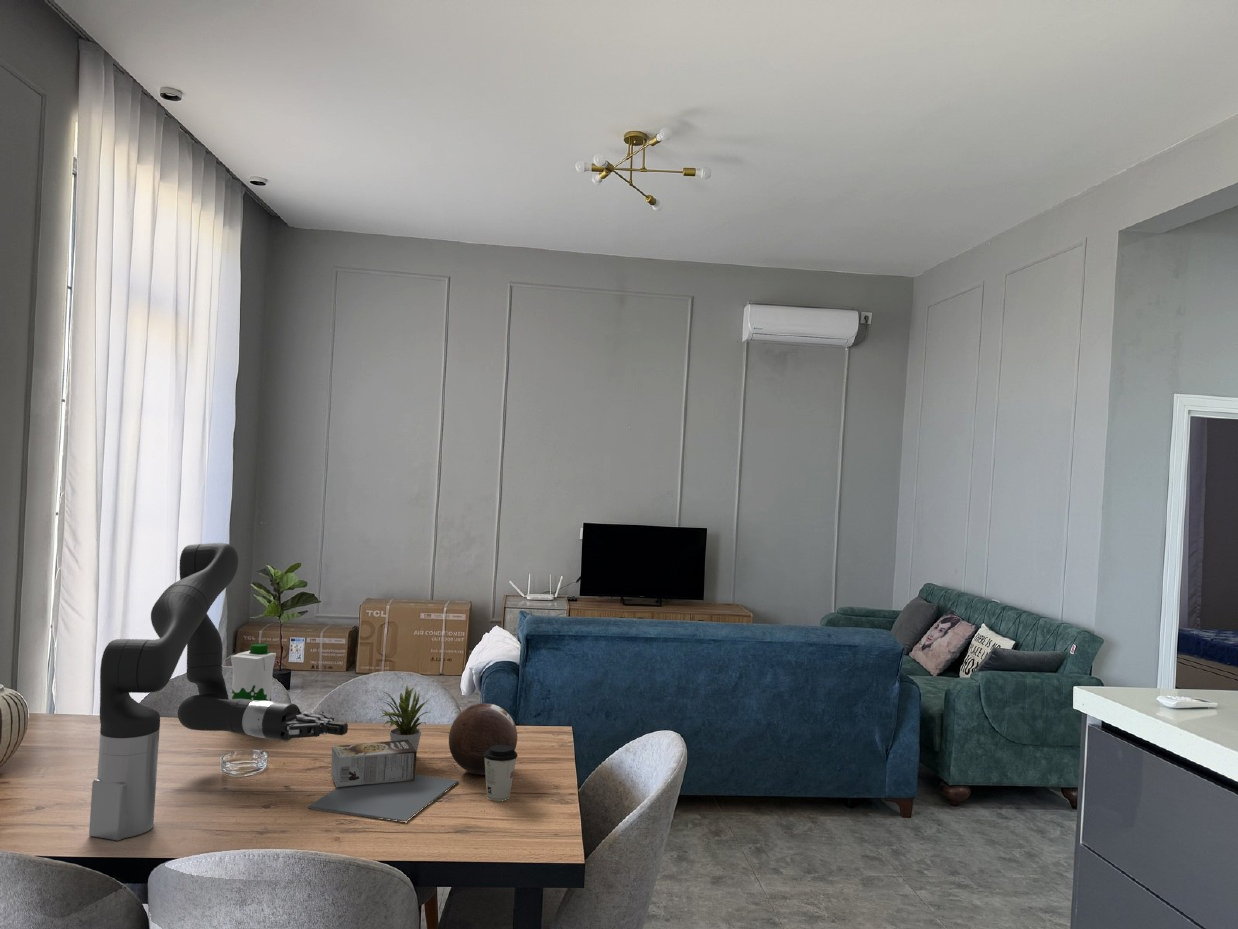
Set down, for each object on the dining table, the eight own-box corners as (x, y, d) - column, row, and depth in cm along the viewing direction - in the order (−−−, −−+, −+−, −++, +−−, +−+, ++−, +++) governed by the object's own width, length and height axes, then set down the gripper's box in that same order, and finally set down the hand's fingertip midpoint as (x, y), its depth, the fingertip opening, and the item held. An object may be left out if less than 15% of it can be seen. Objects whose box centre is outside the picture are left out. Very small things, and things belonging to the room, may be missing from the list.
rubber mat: (405, 823, 165) (405, 820, 165) (307, 808, 170) (308, 805, 170) (458, 782, 188) (458, 780, 188) (370, 770, 193) (370, 768, 193)
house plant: (366, 749, 208) (371, 679, 208) (426, 746, 213) (430, 677, 213) (372, 768, 194) (376, 694, 195) (436, 764, 199) (440, 692, 200)
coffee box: (331, 744, 188) (407, 738, 195) (330, 775, 188) (406, 768, 195) (338, 756, 180) (417, 750, 187) (336, 789, 179) (416, 780, 186)
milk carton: (275, 724, 224) (280, 644, 225) (252, 733, 215) (257, 651, 216) (245, 720, 226) (250, 641, 227) (221, 729, 217) (226, 647, 218)
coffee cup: (483, 804, 177) (485, 754, 177) (479, 792, 183) (481, 743, 184) (517, 803, 179) (520, 753, 179) (512, 790, 185) (515, 742, 186)
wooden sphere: (520, 782, 191) (524, 712, 191) (450, 785, 186) (454, 714, 187) (509, 760, 205) (513, 695, 205) (443, 763, 201) (447, 696, 201)
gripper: (252, 709, 179) (329, 719, 175) (291, 695, 192) (363, 703, 188) (250, 746, 179) (327, 757, 175) (289, 729, 192) (361, 739, 188)
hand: (345, 729), depth 182 cm, fingers closed
